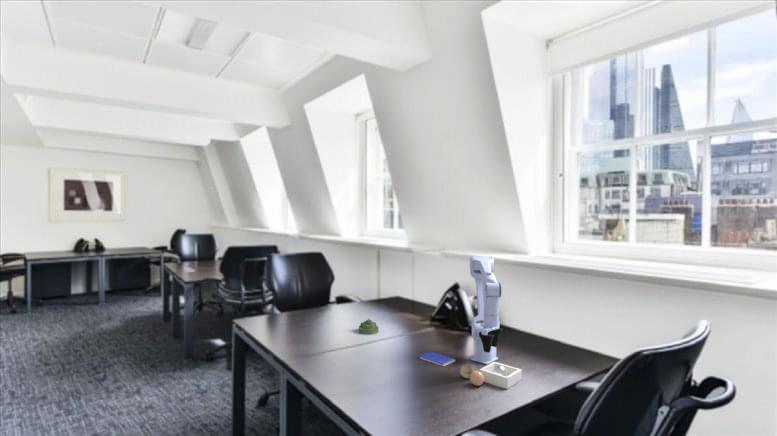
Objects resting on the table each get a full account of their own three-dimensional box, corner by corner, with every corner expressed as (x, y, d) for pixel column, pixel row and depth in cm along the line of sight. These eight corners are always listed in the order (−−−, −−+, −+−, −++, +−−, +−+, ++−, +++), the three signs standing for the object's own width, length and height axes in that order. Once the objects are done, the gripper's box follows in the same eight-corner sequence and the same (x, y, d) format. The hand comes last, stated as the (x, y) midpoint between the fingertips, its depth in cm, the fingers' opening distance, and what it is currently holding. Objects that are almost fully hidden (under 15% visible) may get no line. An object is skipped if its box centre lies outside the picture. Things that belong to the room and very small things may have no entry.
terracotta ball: (474, 381, 152) (474, 367, 152) (486, 385, 148) (486, 371, 148) (467, 385, 148) (467, 371, 148) (479, 389, 145) (479, 375, 145)
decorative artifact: (357, 334, 205) (378, 335, 205) (358, 320, 205) (378, 321, 205) (359, 329, 215) (378, 329, 215) (359, 315, 215) (378, 315, 215)
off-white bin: (494, 371, 161) (494, 361, 161) (521, 380, 153) (521, 369, 153) (479, 380, 152) (479, 369, 152) (507, 389, 145) (507, 378, 145)
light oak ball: (464, 374, 158) (465, 361, 158) (476, 377, 155) (476, 364, 154) (457, 377, 154) (457, 364, 154) (469, 381, 151) (469, 368, 151)
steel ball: (493, 375, 156) (493, 362, 156) (506, 377, 154) (507, 364, 154) (492, 380, 151) (492, 367, 151) (506, 383, 150) (506, 369, 149)
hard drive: (455, 358, 172) (431, 351, 180) (443, 363, 166) (419, 355, 174) (455, 362, 172) (431, 354, 180) (443, 367, 166) (419, 359, 174)
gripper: (487, 308, 167) (486, 342, 167) (474, 316, 155) (473, 352, 155) (505, 311, 163) (504, 345, 163) (492, 319, 151) (491, 356, 151)
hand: (490, 349), depth 159 cm, fingers open, 7 cm apart
